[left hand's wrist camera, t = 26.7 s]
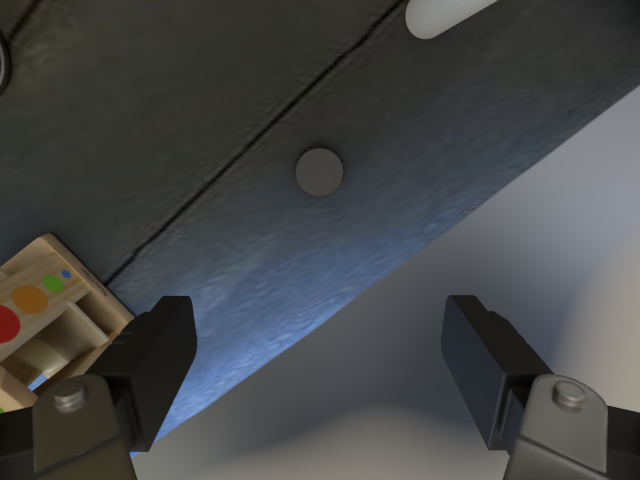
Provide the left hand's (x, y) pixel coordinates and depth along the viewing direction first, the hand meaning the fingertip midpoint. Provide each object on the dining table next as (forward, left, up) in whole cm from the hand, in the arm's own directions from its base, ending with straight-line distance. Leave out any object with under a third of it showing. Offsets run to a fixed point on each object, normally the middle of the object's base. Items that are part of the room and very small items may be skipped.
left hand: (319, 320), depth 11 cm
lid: (0, 0, -27) cm, 27 cm away
